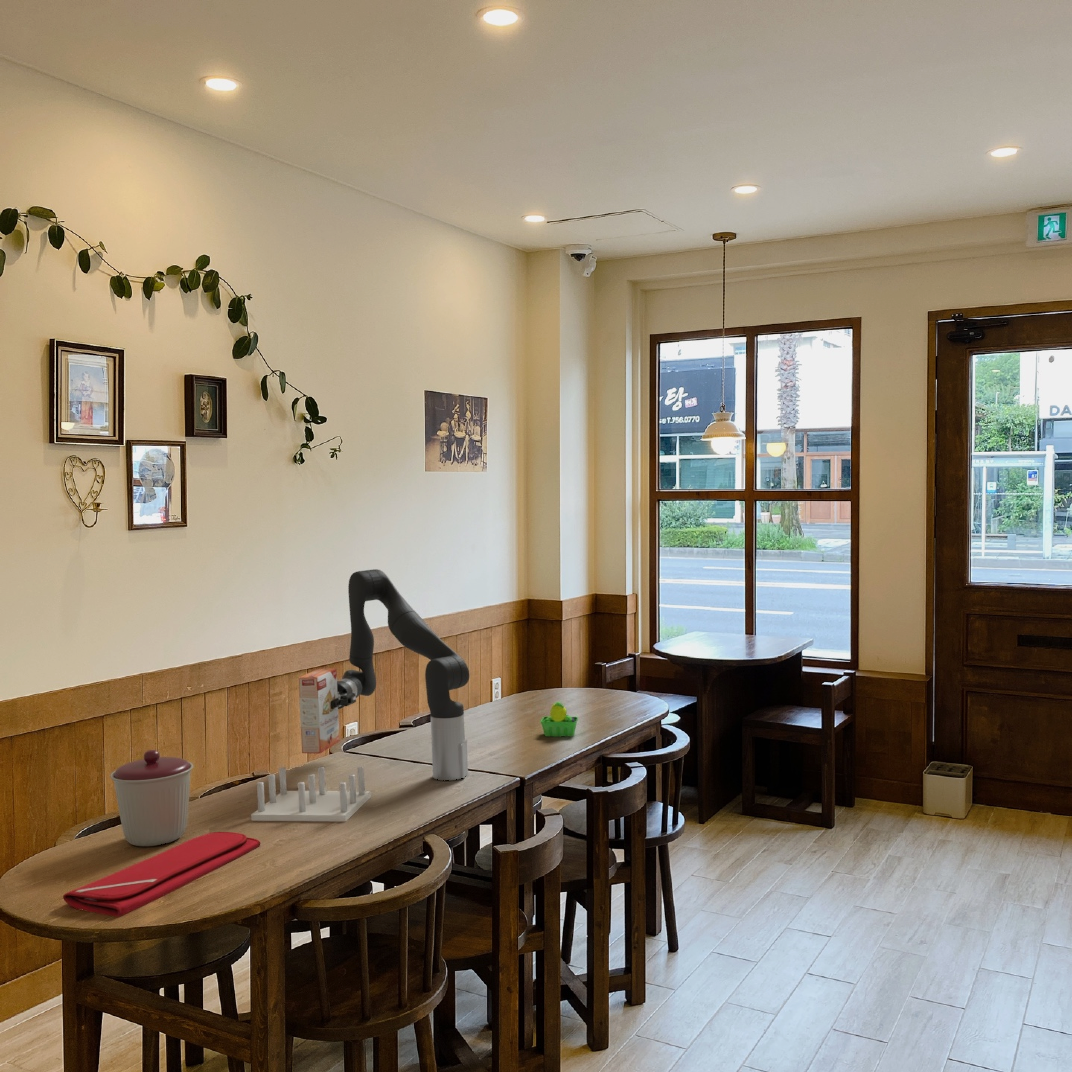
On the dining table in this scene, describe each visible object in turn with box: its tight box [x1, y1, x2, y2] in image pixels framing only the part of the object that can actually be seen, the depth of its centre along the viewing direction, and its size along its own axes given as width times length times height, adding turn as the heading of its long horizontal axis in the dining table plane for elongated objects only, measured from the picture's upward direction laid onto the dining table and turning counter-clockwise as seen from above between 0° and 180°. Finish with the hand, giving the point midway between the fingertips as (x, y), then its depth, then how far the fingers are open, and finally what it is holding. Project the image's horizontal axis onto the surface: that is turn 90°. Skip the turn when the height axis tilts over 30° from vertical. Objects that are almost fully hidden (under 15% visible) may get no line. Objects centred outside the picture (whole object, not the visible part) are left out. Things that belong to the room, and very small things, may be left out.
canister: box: [109, 749, 194, 847], centre depth 236 cm, size 18×18×21 cm
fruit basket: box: [540, 701, 579, 738], centre depth 324 cm, size 11×9×11 cm
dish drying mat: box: [62, 831, 261, 918], centre depth 213 cm, size 16×41×4 cm, turn 156°
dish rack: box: [250, 766, 372, 823], centre depth 255 cm, size 24×20×8 cm
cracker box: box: [298, 667, 340, 754], centre depth 277 cm, size 14×6×21 cm, turn 170°
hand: (320, 705), depth 278 cm, fingers closed on cracker box, 6 cm apart
